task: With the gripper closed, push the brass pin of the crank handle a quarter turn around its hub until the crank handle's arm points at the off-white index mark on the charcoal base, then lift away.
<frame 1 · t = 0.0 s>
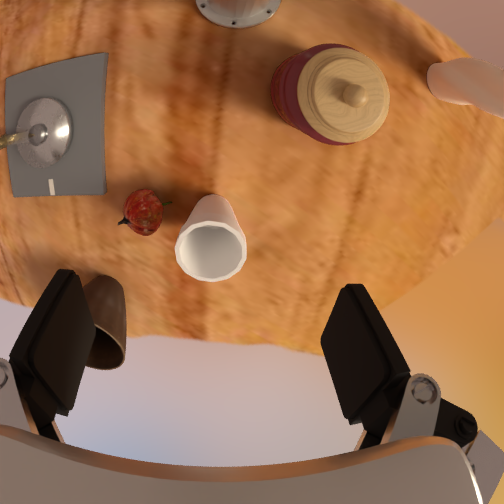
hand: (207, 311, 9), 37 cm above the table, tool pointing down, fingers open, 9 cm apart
foam cup: (213, 211, 47), on the table
dial base: (51, 129, 35), on the table
water bottle: (438, 78, 35), on the table
plant pot: (109, 288, 54), on the table
crank handle: (22, 138, 29), point 6 cm above the table, hinge at 0.0°
canister: (309, 91, 37), on the table
pomegranate: (150, 202, 45), on the table
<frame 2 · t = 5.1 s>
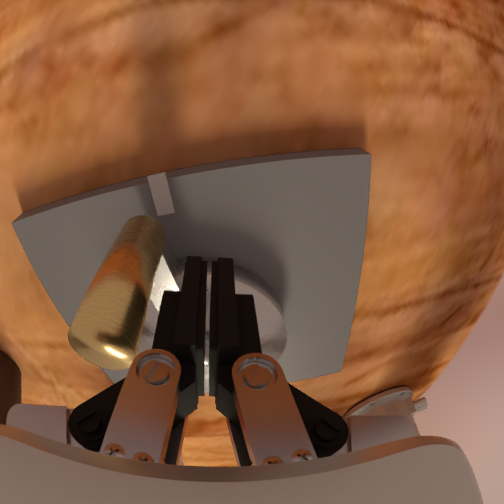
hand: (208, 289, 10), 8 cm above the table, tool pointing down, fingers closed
dial base: (201, 308, 21), on the table
plant pot: (2, 360, 25), on the table
crank handle: (186, 359, 15), point 6 cm above the table, hinge at 5.6°, touching gripper
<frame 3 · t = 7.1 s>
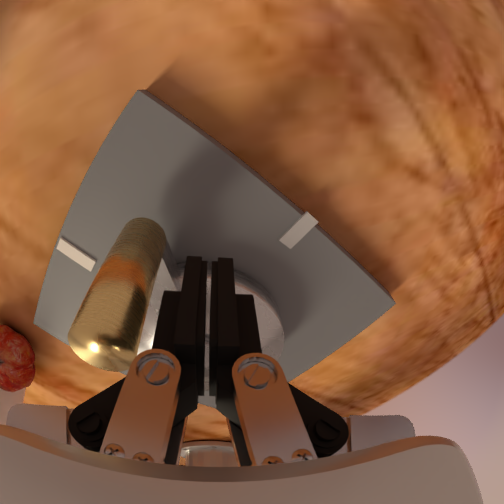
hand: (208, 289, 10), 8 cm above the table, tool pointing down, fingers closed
foam cup: (11, 366, 26), on the table
dial base: (199, 311, 21), on the table
crank handle: (184, 361, 15), point 6 cm above the table, hinge at 52.3°, touching gripper
pomegranate: (19, 337, 23), on the table
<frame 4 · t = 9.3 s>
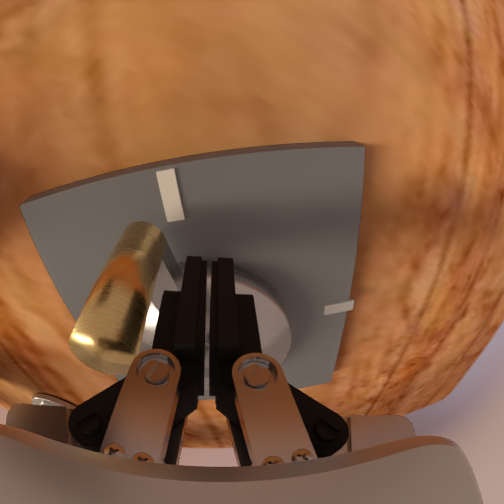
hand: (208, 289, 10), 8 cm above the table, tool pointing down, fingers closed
dial base: (205, 311, 22), on the table
crank handle: (191, 362, 15), point 6 cm above the table, hinge at 99.1°, touching gripper
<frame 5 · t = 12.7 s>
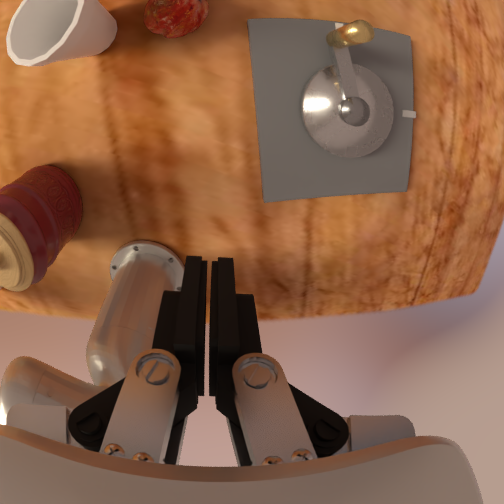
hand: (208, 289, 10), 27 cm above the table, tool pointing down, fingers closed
foam cup: (96, 34, 22), on the table
dial base: (340, 107, 31), on the table
crank handle: (358, 95, 25), point 6 cm above the table, hinge at 100.2°
canister: (51, 202, 34), on the table
pomegranate: (179, 17, 23), on the table
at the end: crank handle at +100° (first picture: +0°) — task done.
